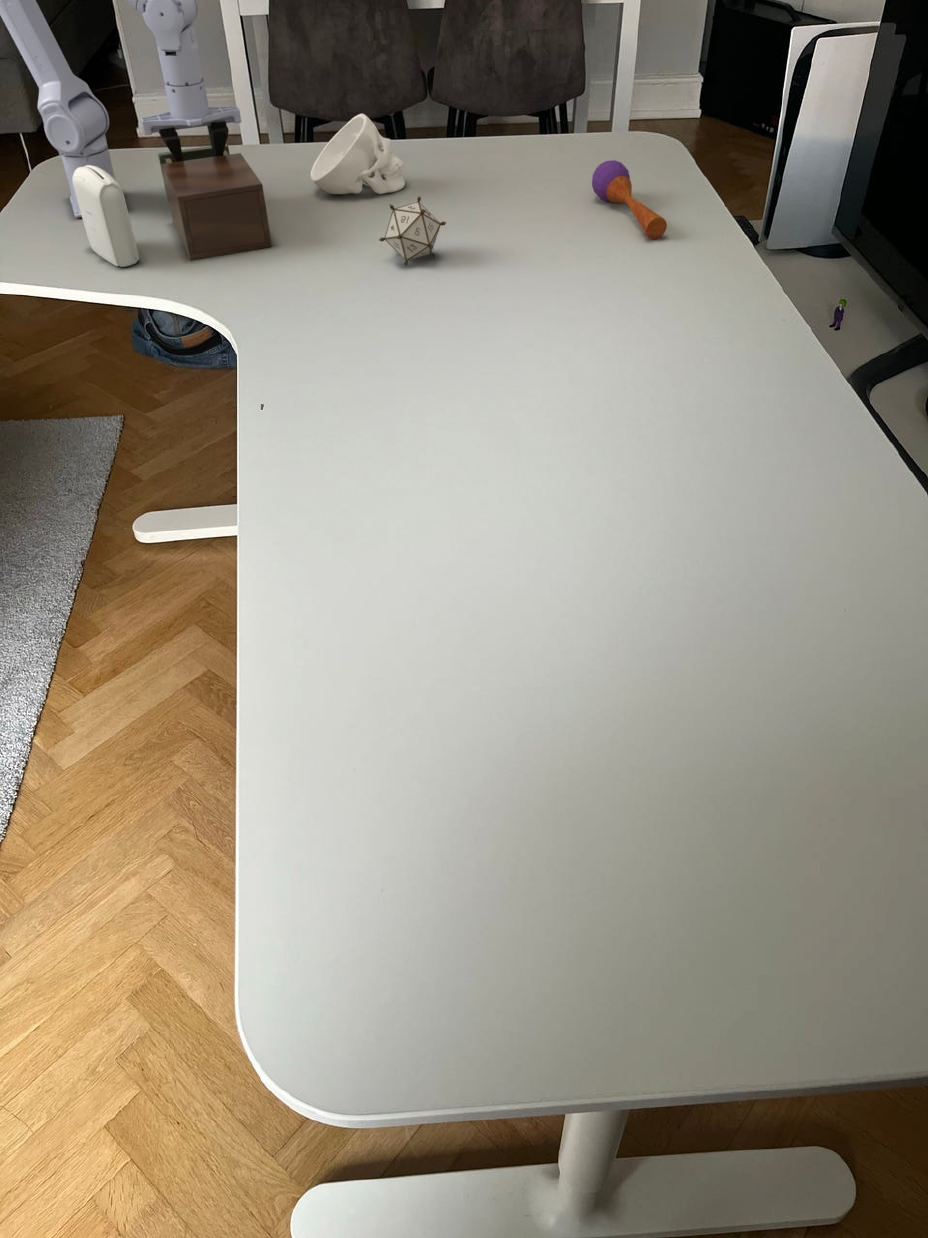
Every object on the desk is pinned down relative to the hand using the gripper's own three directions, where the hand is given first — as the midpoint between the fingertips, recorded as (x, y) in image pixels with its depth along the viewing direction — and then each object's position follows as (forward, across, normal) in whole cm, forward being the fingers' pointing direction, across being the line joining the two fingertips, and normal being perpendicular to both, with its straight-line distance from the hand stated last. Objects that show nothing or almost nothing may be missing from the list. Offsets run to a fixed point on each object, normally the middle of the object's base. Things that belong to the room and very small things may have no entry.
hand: (202, 177), depth 155 cm
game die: (+6, +24, -30) cm, 39 cm away
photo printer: (+6, -16, -12) cm, 20 cm away
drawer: (+5, 0, +1) cm, 5 cm away
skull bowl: (+6, +25, 0) cm, 26 cm away
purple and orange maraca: (+6, +60, -28) cm, 67 cm away
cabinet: (+5, 0, -10) cm, 12 cm away
